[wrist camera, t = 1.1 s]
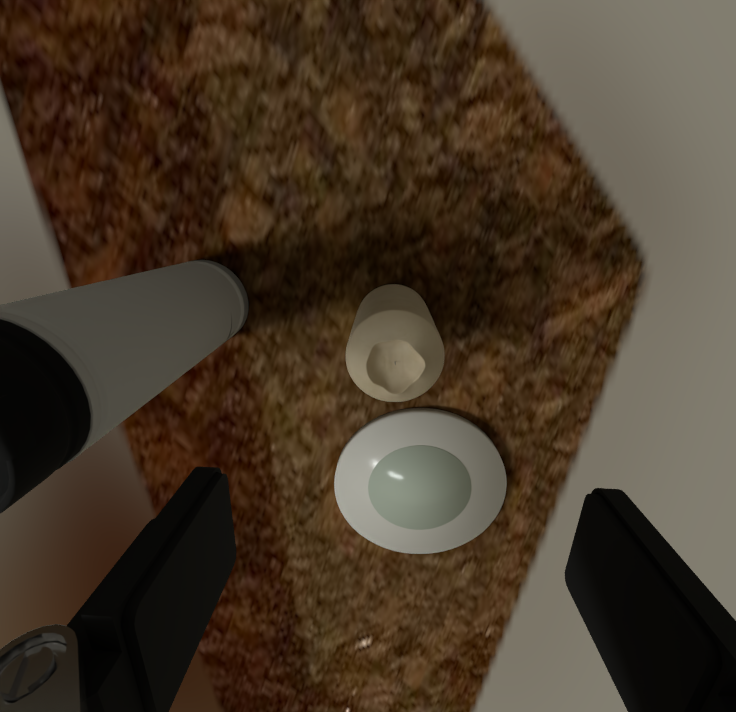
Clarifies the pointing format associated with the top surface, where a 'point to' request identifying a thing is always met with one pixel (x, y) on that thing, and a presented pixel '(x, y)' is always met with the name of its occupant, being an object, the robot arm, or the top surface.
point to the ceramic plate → (420, 481)
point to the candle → (394, 345)
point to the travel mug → (101, 359)
